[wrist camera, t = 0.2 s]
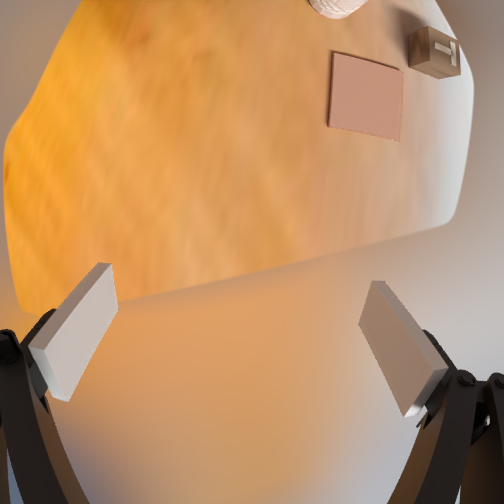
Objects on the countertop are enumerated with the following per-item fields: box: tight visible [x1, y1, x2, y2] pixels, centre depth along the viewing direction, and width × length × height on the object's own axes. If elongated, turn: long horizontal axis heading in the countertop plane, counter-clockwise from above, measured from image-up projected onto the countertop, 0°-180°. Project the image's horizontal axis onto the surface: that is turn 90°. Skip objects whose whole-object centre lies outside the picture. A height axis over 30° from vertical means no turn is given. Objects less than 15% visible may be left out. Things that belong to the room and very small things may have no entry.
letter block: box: [408, 26, 461, 79], centre depth 29 cm, size 6×6×6 cm
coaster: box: [328, 53, 404, 141], centre depth 34 cm, size 11×11×1 cm
